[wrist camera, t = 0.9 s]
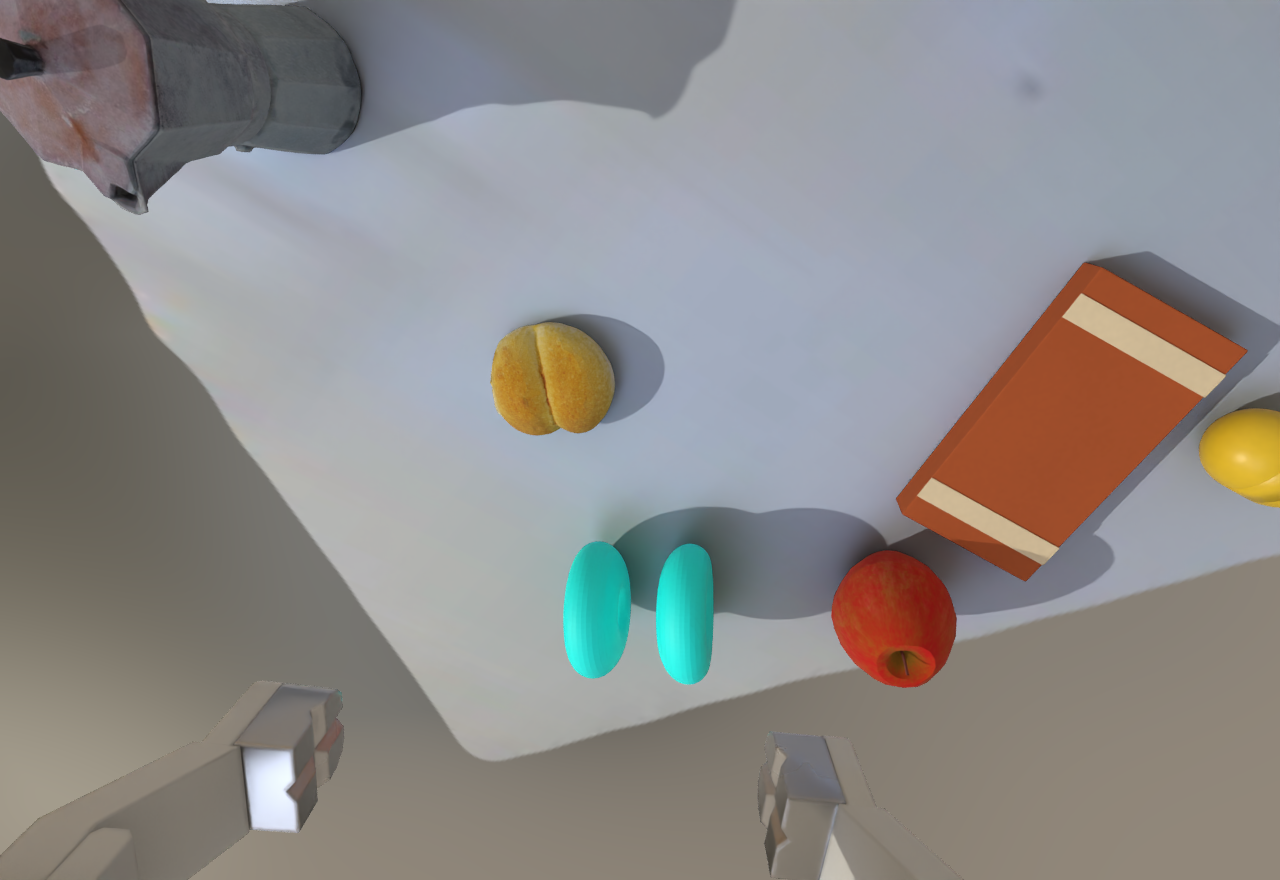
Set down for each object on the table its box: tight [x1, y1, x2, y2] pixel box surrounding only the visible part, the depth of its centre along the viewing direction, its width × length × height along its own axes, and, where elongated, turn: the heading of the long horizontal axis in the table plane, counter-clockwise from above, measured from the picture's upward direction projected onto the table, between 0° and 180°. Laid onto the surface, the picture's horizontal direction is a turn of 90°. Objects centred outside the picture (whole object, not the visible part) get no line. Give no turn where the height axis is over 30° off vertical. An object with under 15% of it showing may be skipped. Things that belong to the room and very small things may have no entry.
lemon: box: [1199, 408, 1280, 508], centre depth 41 cm, size 7×5×5 cm
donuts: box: [563, 541, 714, 684], centre depth 50 cm, size 10×10×10 cm
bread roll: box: [490, 322, 615, 435], centre depth 47 cm, size 8×9×4 cm
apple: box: [831, 550, 957, 688], centre depth 46 cm, size 8×8×11 cm
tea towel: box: [896, 262, 1248, 581], centre depth 43 cm, size 19×10×2 cm, turn 153°
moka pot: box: [0, 0, 361, 215], centre depth 35 cm, size 10×15×20 cm, turn 15°
